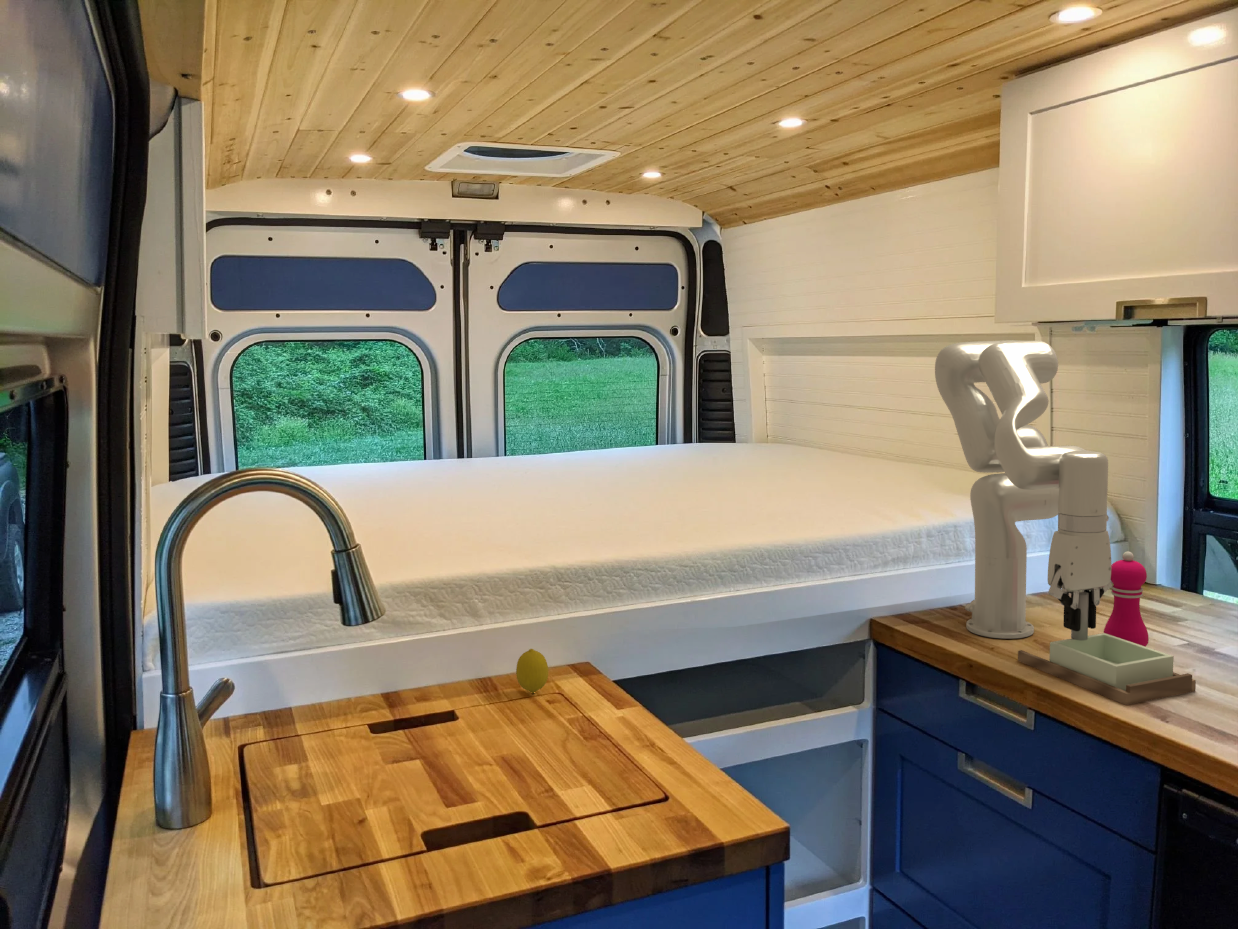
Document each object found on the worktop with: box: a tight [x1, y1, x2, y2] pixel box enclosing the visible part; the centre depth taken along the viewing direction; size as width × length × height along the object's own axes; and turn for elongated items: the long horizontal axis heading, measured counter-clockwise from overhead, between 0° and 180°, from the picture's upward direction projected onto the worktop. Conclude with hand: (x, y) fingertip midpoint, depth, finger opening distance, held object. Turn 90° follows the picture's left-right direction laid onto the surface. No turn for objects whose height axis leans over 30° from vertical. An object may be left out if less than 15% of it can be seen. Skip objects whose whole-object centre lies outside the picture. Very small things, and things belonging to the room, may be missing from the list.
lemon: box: [515, 648, 549, 694], centre depth 167 cm, size 6×6×8 cm
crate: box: [1049, 590, 1174, 691], centre depth 162 cm, size 15×12×13 cm
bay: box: [1017, 649, 1197, 706], centre depth 163 cm, size 23×14×4 cm, turn 19°
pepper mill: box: [1103, 550, 1150, 647], centre depth 172 cm, size 7×7×20 cm
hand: (1079, 627), depth 167 cm, fingers closed on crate, 2 cm apart
